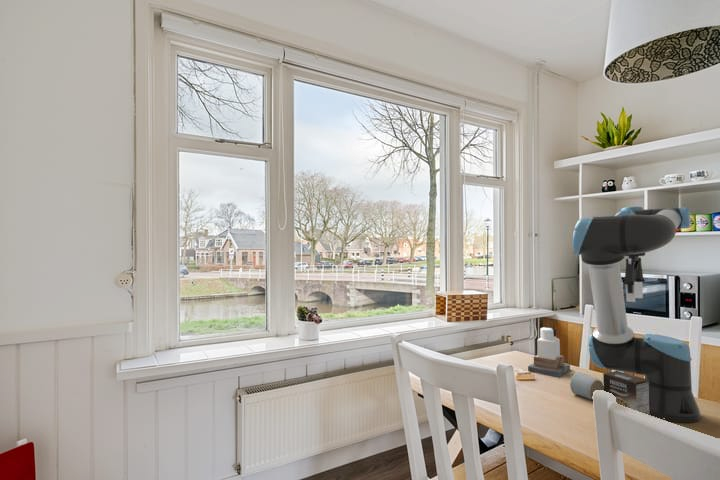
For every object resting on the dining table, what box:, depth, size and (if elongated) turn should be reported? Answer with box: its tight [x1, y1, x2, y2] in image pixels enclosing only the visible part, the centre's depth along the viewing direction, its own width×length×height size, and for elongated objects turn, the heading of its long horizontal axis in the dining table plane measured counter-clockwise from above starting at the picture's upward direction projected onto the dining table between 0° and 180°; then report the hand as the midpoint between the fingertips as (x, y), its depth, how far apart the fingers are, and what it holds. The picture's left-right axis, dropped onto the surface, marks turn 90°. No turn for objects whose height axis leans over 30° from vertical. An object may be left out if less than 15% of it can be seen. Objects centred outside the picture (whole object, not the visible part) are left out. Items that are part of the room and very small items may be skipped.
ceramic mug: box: [569, 371, 604, 401], centre depth 140 cm, size 11×8×8 cm
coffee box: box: [602, 370, 650, 416], centre depth 112 cm, size 9×6×16 cm
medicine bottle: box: [536, 326, 561, 359], centre depth 170 cm, size 7×7×12 cm
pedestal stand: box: [527, 354, 571, 378], centre depth 170 cm, size 14×12×6 cm
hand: (634, 299), depth 158 cm, fingers open, 13 cm apart
